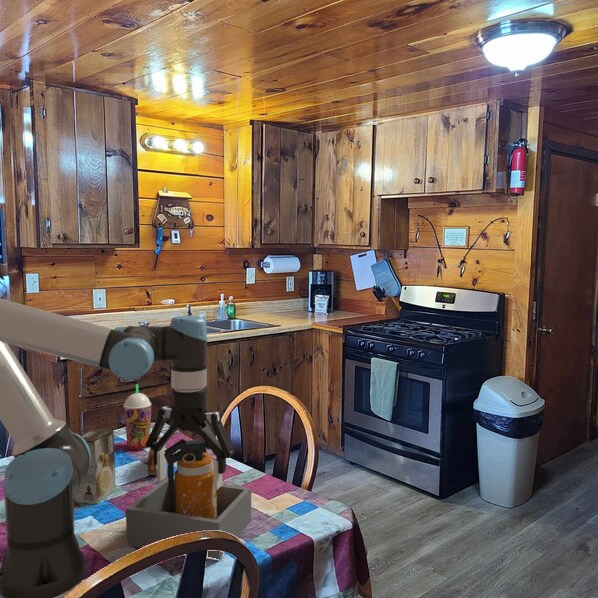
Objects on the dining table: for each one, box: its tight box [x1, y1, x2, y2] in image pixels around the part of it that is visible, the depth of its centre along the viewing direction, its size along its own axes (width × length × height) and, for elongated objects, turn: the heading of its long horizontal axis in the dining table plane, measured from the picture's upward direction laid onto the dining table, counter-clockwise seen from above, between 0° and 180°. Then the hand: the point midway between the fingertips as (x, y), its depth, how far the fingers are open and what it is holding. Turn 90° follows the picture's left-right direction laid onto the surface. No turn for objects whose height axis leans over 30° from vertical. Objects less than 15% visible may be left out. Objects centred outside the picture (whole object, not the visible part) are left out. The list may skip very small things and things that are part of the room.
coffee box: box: [74, 428, 117, 505], centre depth 147 cm, size 9×6×16 cm
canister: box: [164, 438, 217, 520], centre depth 128 cm, size 9×11×20 cm
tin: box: [146, 436, 167, 476], centre depth 165 cm, size 15×3×8 cm, turn 2°
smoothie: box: [123, 383, 152, 451], centre depth 182 cm, size 8×8×20 cm
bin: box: [125, 476, 252, 561], centre depth 129 cm, size 17×21×8 cm
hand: (189, 483), depth 128 cm, fingers open, 13 cm apart
